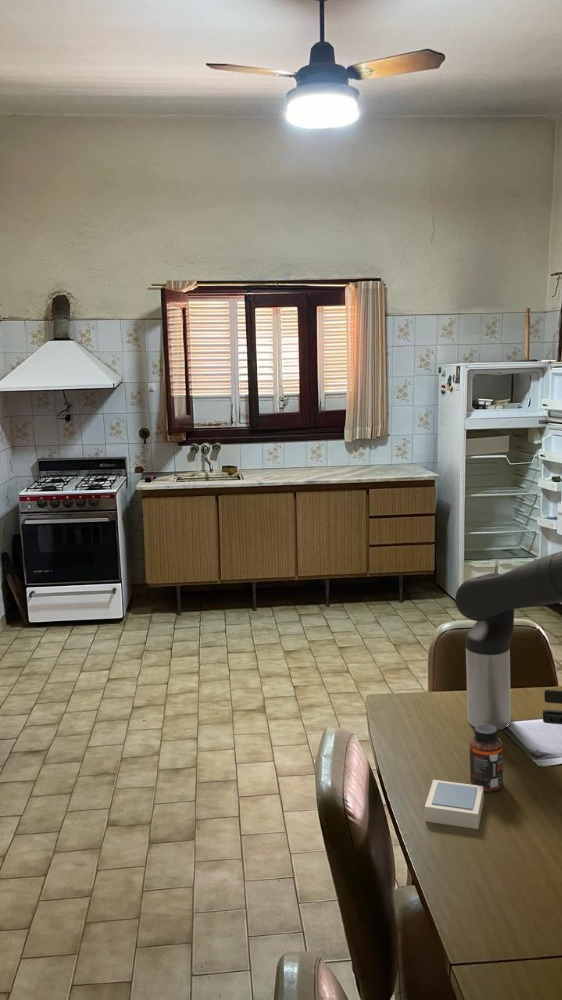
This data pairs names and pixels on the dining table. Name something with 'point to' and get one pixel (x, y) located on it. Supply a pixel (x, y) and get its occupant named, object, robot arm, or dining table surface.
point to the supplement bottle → (486, 758)
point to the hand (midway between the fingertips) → (543, 705)
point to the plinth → (454, 804)
